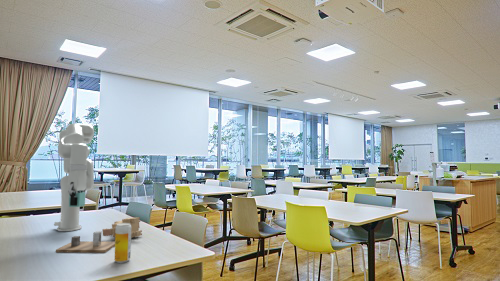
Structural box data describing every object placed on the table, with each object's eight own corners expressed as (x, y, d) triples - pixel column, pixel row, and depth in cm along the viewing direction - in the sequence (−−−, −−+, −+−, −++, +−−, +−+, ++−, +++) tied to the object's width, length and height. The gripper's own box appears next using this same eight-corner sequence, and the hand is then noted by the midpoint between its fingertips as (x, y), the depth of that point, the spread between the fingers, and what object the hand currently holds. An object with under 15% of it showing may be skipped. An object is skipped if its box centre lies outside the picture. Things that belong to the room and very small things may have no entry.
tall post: (92, 246, 146) (93, 232, 146) (95, 244, 148) (96, 231, 148) (98, 246, 146) (98, 232, 146) (101, 244, 148) (101, 231, 149)
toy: (148, 214, 174) (120, 217, 181) (123, 221, 156) (92, 224, 162) (150, 232, 173) (121, 234, 180) (125, 241, 155) (94, 243, 161)
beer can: (117, 258, 132) (118, 222, 133) (132, 258, 132) (133, 222, 133) (112, 263, 126) (113, 225, 127) (127, 263, 126) (128, 225, 127)
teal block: (68, 206, 153) (69, 193, 154) (74, 205, 158) (75, 192, 159) (79, 206, 153) (79, 193, 154) (84, 205, 158) (85, 192, 159)
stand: (55, 252, 140) (56, 240, 140) (72, 243, 154) (73, 233, 154) (105, 252, 140) (105, 240, 140) (117, 244, 154) (118, 233, 154)
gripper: (80, 167, 166) (78, 202, 164) (60, 168, 149) (58, 207, 147) (94, 167, 166) (93, 202, 164) (76, 168, 148) (74, 207, 147)
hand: (76, 204), depth 156 cm, fingers closed on teal block, 5 cm apart
